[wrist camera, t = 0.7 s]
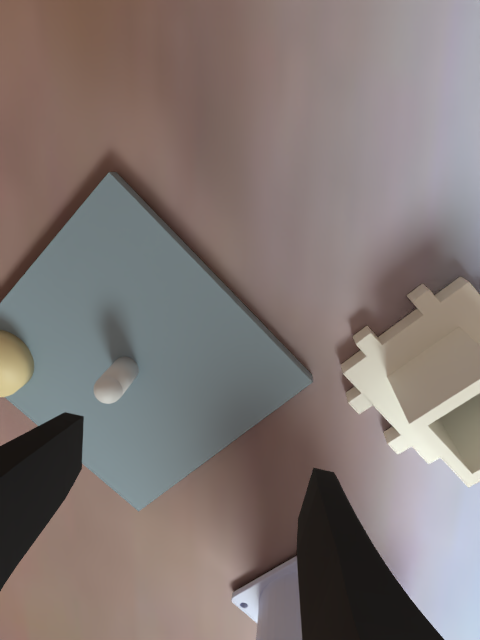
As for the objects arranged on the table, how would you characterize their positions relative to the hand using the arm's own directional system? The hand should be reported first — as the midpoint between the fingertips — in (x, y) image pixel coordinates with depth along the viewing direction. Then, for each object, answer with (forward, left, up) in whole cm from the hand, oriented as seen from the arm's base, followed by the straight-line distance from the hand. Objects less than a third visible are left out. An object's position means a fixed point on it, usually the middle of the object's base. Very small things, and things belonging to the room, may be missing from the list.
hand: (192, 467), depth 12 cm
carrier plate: (+3, +5, -10) cm, 11 cm away
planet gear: (-8, -7, -10) cm, 14 cm away
